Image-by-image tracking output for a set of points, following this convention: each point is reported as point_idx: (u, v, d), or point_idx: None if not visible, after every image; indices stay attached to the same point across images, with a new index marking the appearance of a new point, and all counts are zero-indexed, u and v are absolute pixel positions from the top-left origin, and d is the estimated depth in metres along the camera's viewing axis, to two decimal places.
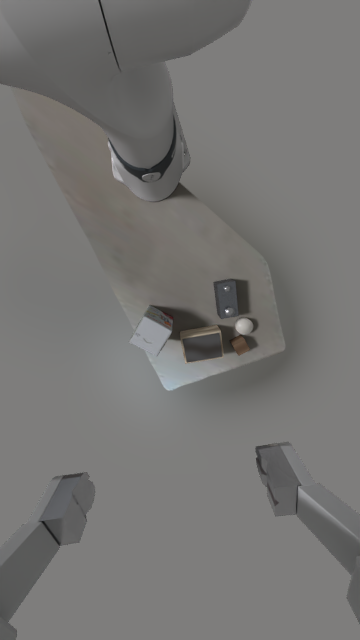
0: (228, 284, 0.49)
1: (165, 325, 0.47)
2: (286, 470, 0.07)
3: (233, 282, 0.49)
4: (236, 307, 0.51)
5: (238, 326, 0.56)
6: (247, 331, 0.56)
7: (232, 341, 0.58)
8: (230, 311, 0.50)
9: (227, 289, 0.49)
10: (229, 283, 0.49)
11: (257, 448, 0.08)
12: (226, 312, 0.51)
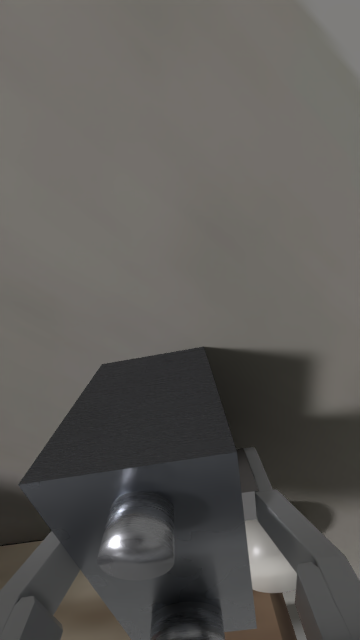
0: (156, 482, 0.04)
1: None
2: (247, 476, 0.07)
3: (213, 467, 0.04)
4: (244, 601, 0.06)
5: (251, 572, 0.11)
6: (292, 585, 0.12)
7: None
8: None
9: (133, 566, 0.04)
10: (167, 474, 0.04)
11: None
12: None
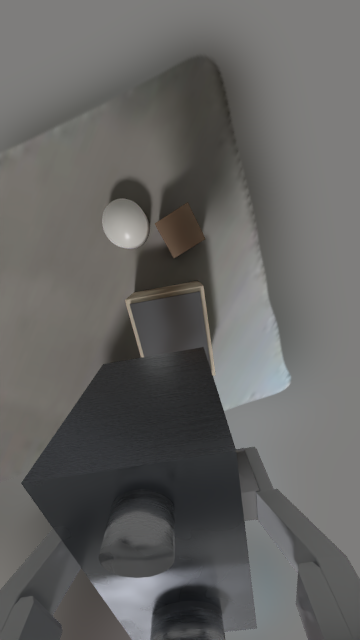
0: (157, 481, 0.04)
1: None
2: (247, 476, 0.07)
3: (213, 466, 0.04)
4: (243, 600, 0.06)
5: (122, 243, 0.21)
6: (137, 215, 0.20)
7: None
8: None
9: (134, 563, 0.04)
10: (167, 473, 0.04)
11: None
12: None
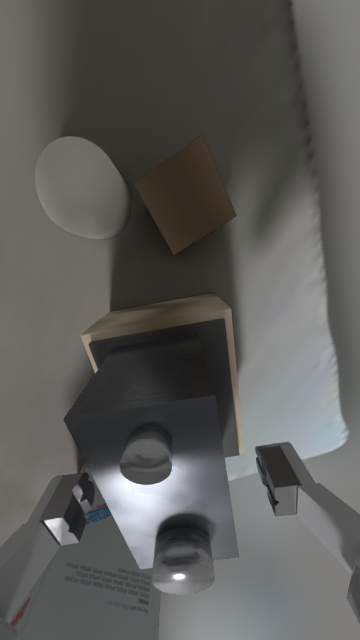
0: (159, 419, 0.06)
1: (22, 609, 0.11)
2: (286, 470, 0.07)
3: (199, 406, 0.06)
4: (227, 528, 0.08)
5: (78, 228, 0.11)
6: (102, 172, 0.10)
7: None
8: (185, 576, 0.07)
9: (144, 472, 0.06)
10: (167, 412, 0.06)
11: (257, 448, 0.08)
12: (159, 579, 0.08)
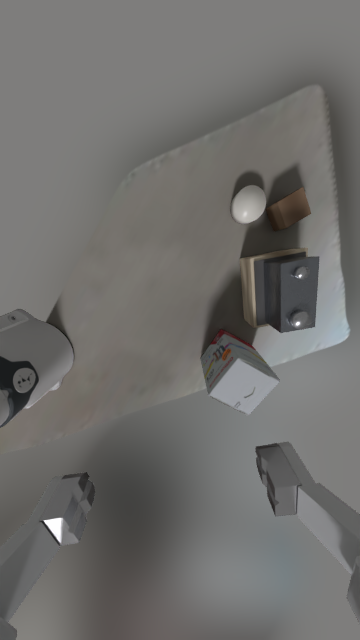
0: (304, 264, 0.24)
1: (227, 363, 0.29)
2: (286, 470, 0.07)
3: (314, 260, 0.24)
4: (313, 311, 0.26)
5: (246, 218, 0.29)
6: (260, 197, 0.28)
7: (276, 226, 0.31)
8: (303, 319, 0.25)
9: (302, 274, 0.24)
10: (306, 262, 0.24)
11: (257, 448, 0.08)
12: (295, 321, 0.25)
